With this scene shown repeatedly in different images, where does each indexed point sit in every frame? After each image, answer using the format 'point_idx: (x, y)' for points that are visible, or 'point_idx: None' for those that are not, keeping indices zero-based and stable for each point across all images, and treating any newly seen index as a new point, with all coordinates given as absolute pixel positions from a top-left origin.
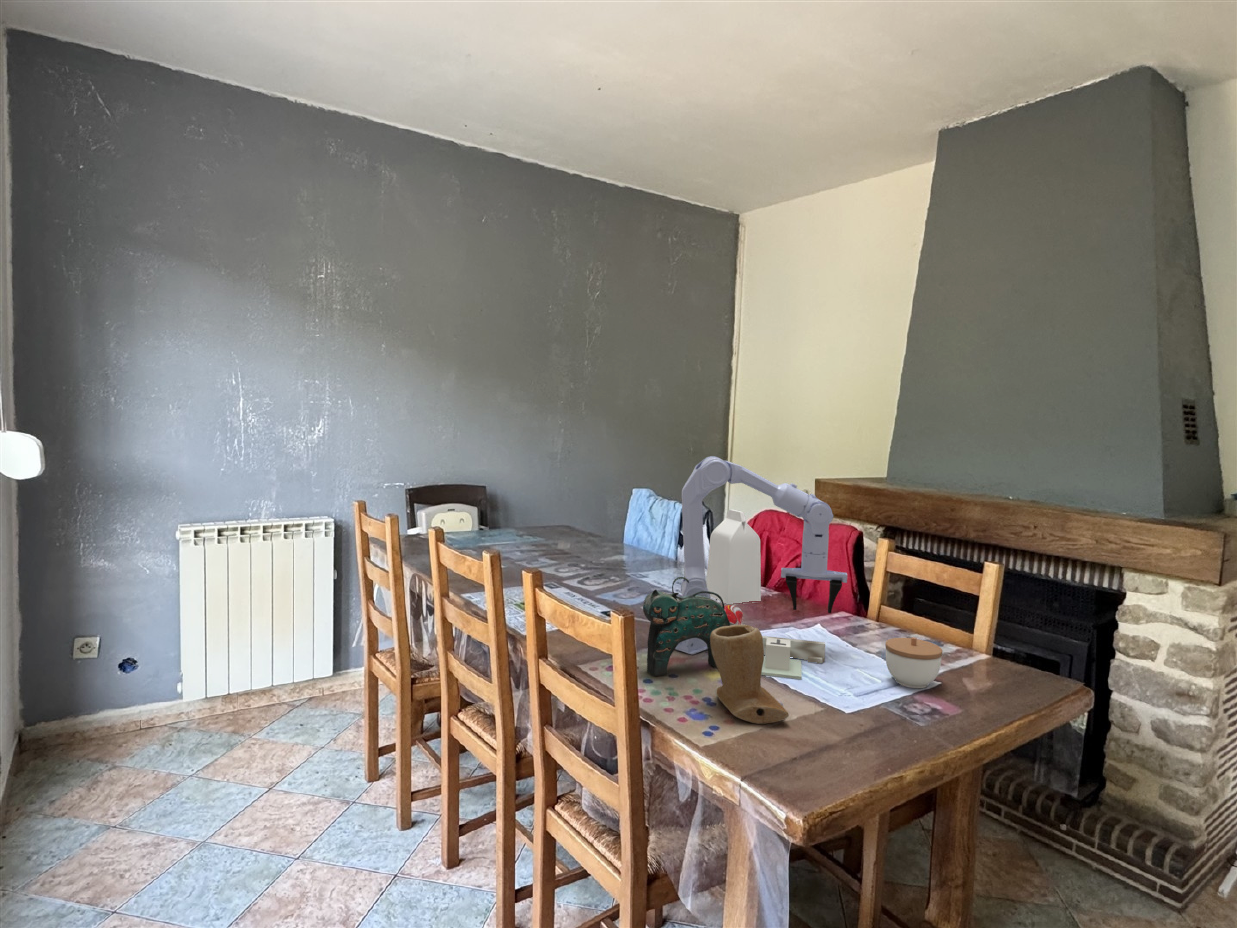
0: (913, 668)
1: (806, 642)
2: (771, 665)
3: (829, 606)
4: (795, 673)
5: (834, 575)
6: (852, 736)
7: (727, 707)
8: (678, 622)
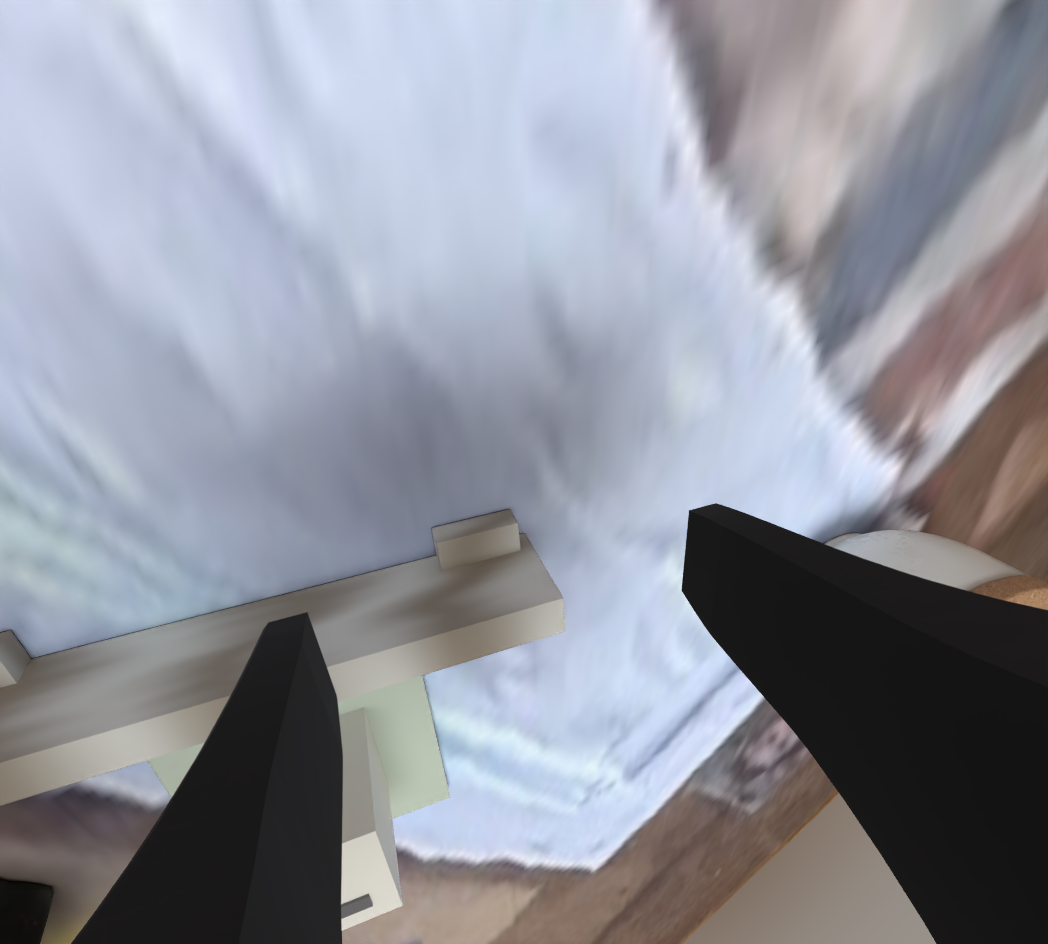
0: None
1: (451, 665)
2: None
3: (738, 656)
4: (420, 788)
5: None
6: (599, 936)
7: None
8: None
